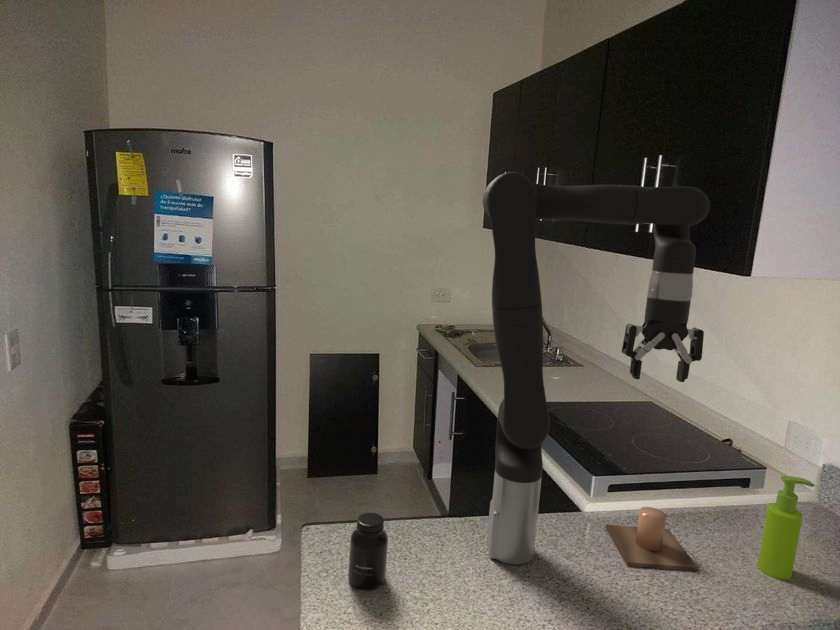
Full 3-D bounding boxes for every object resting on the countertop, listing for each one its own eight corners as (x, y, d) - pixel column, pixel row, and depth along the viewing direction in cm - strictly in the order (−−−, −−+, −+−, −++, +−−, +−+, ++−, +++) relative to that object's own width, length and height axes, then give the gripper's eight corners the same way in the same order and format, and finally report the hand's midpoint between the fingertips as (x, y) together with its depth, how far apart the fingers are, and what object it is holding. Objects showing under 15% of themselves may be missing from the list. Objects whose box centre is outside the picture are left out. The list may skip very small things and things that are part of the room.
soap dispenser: (802, 582, 107) (820, 487, 104) (764, 576, 109) (781, 482, 106) (789, 565, 113) (806, 474, 110) (752, 559, 114) (768, 469, 111)
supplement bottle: (356, 595, 96) (359, 532, 94) (342, 573, 102) (345, 513, 100) (391, 585, 99) (395, 524, 97) (377, 564, 105) (380, 506, 103)
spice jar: (639, 549, 114) (643, 517, 113) (632, 535, 119) (636, 505, 118) (665, 552, 113) (669, 520, 112) (657, 538, 119) (661, 508, 118)
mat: (627, 565, 109) (627, 562, 109) (605, 527, 123) (605, 524, 123) (697, 570, 109) (697, 567, 109) (667, 532, 123) (668, 529, 123)
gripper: (697, 296, 106) (686, 377, 109) (624, 291, 107) (614, 372, 109) (717, 301, 99) (704, 387, 101) (638, 296, 99) (627, 382, 102)
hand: (657, 379), depth 105 cm, fingers open, 8 cm apart
